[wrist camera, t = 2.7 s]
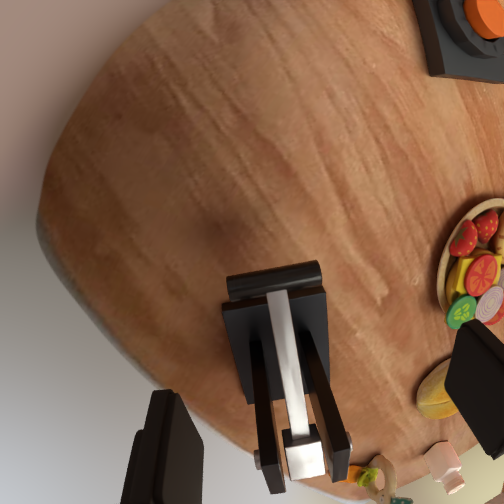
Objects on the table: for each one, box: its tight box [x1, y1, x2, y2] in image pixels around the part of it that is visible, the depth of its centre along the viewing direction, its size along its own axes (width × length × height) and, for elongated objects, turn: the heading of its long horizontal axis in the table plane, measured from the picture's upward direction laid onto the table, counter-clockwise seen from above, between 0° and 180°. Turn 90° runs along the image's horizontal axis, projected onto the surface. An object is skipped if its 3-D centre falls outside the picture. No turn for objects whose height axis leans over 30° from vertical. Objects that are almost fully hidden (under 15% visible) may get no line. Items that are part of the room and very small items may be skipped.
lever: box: [226, 260, 326, 481], centre depth 17 cm, size 13×5×2 cm, turn 11°
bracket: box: [222, 285, 353, 494], centre depth 21 cm, size 11×8×13 cm
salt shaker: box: [424, 441, 465, 495], centre depth 34 cm, size 4×4×10 cm
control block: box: [412, 0, 504, 84], centre depth 15 cm, size 10×8×4 cm
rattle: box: [329, 455, 413, 504], centre depth 31 cm, size 8×8×12 cm
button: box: [463, 0, 504, 39], centre depth 13 cm, size 4×4×2 cm
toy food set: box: [437, 198, 504, 329], centre depth 24 cm, size 13×13×3 cm
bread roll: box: [416, 358, 459, 419], centre depth 29 cm, size 8×9×4 cm
